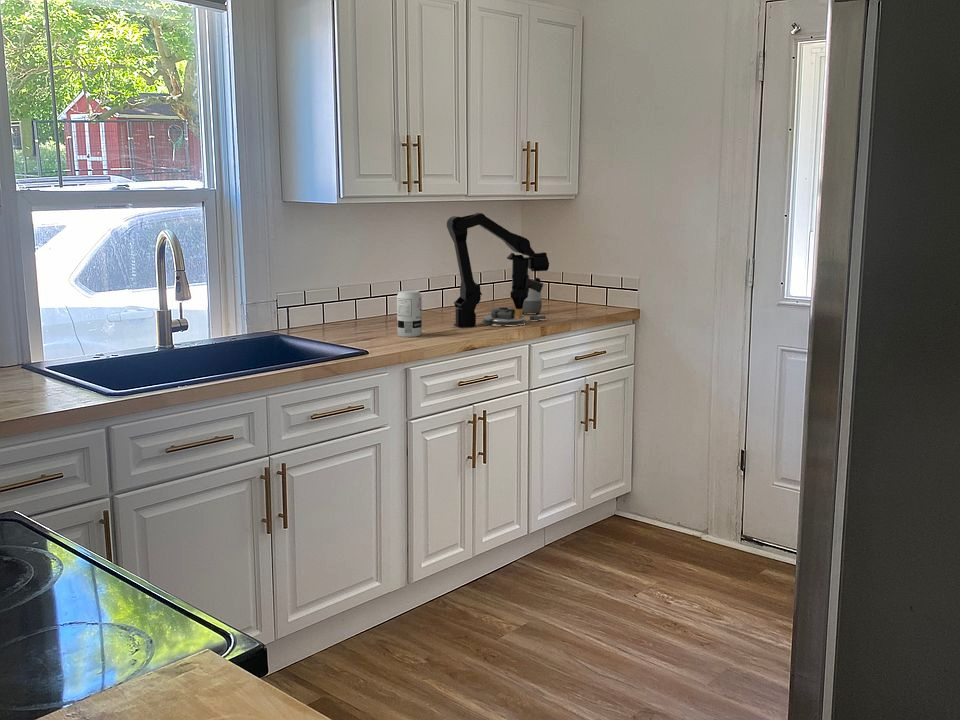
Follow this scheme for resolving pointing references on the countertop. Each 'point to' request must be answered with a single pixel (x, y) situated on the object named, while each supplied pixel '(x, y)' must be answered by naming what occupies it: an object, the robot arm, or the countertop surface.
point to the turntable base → (502, 323)
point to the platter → (512, 320)
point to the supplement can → (409, 313)
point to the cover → (503, 313)
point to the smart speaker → (532, 302)
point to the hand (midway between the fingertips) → (519, 314)
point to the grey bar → (537, 317)
